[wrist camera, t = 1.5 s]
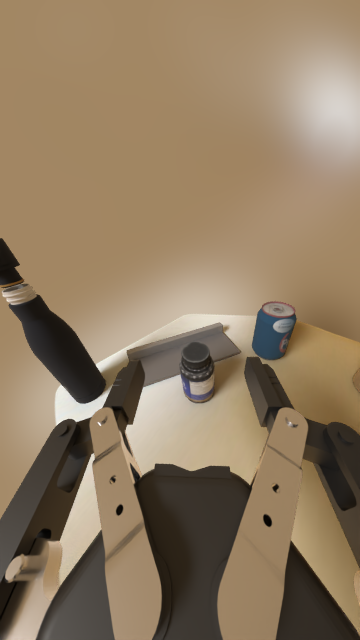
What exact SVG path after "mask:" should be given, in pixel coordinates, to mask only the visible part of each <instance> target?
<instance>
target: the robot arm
mask: <svg viewBox="0 0 360 640" xmlns="http://www.w3.org/2000/svg"><path fill="white" fill-rule="evenodd" d="M244 374H245V379H246V382H247V385H248V389H249V392H250V395H251V398H252V401H253V404H254V407H255V410H256V413H257V416H258V419H259V422H260V425H261V427H267V429H268V432H269V434H268V437H267V440H266V443H265V446H264V448H263V451H262V454H261V457H260V460H259V462H258V465H257V468H256V470H255V473H254V476H253V479H252V481H251V484H250V485H249V484H248V483H247V482H246V481H245V480H244V479H242V478H241V477H240V476H238V475H236V474H235V473H232V472H230V467H229V466H208V467H205V468H202V469H199V470H196V471H188V470H186V469H183V468H181V467H178V466H176V465H173V464H155V468H154V469H153V470H151V471H149V472H147V473H145V474H144V475H143V476H142V474H141V471H140V469H139V466H138V464H137V462H136V460H135V457H134V455H133V452H132V449H131V446H130V443H129V440H128V437H127V434H126V431H125V430H126V427H127V425H133V421H134V417H135V414H136V410H137V407H138V403H139V399H140V396H141V392H142V389H143V385H144V381H145V372H144V369H143V366H142V363H141V361H140V360H130V361H129V363H128V366H127V367H125V368H123V369H122V370H121V371H120V372H119V373H118V375H117V377H116V380H115V382H114V384H113V386H112V388H111V390H110V393H109V395H108V397H107V399H106V401H105V404H104V406H103V408H102V409H100V410H98V411H97V412H96V413H95V414H94V415H93V416H92V417H91V418H88V419H85V420H82V421H79V422H75V421H74V420H73V419H67V420H64V421H62V422H61V423H59V424H58V425H57V426H56V427H55V428H54V429H53V431H52V432H51V434H50V436H49V438H48V439H47V441H46V443H45V445H44V446H43V448H42V450H41V451H40V453H39V455H38V456H37V458H36V460H35V461H34V463H33V465H32V467H31V468H30V470H29V472H28V473H27V475H26V477H25V478H24V480H23V482H22V483H21V485H20V487H19V489H18V491H17V492H16V494H15V495H14V497H13V499H12V501H11V502H10V504H9V506H8V508H7V509H6V511H5V512H4V514H3V516H2V518H1V519H0V640H360V631H359V633H358V632H357V630H356V629H355V627H354V626H353V624H352V623H351V621H350V620H349V619H348V617H347V616H346V615H345V613H344V612H343V610H342V609H341V608H340V606H339V605H338V604H337V602H336V601H335V600H334V598H333V597H332V595H331V594H330V593H329V591H328V590H327V589H326V587H325V586H324V585H323V583H322V582H321V580H320V579H319V578H318V576H317V575H316V574H315V572H314V571H313V570H312V568H311V567H310V565H309V564H308V563H307V561H306V560H305V559H304V557H303V556H302V555H301V553H300V552H299V551H298V549H297V548H296V546H295V545H294V544H293V542H292V541H291V535H292V530H293V524H294V519H295V513H296V508H297V502H298V497H299V491H300V486H301V480H302V469H301V463H302V458H303V459H306V460H308V461H311V462H313V463H314V466H315V468H316V470H317V472H318V475H319V477H320V479H321V481H322V484H323V486H324V488H325V491H326V493H327V495H328V497H329V500H330V502H331V504H332V506H333V509H334V511H335V513H336V516H337V518H338V520H339V522H340V525H341V527H342V529H343V531H344V534H345V536H346V538H347V541H348V543H349V545H350V547H351V550H352V552H353V554H354V556H355V559H356V561H357V563H358V566H359V568H360V435H359V434H358V433H357V432H356V431H354V430H353V429H352V428H350V427H349V426H347V425H345V424H342V423H339V422H331V423H329V424H328V425H324V424H321V423H318V422H314V421H311V420H308V419H306V418H305V417H303V416H302V415H301V414H300V413H299V412H298V411H296V410H295V409H294V408H293V406H292V404H291V402H290V401H289V399H288V397H287V395H286V393H285V391H284V389H283V387H282V385H281V384H280V382H279V380H278V378H277V376H276V374H275V372H274V370H273V369H272V368H271V367H270V366H269V365H268V364H262V362H261V360H260V358H259V357H247V359H246V365H245V371H244ZM353 383H354V385H355V387H356V389H357V390H358V391H359V393H360V368H359V370H358V371H357V372H356V374H355V375H354V377H353ZM93 453H94V455H95V460H94V461H93V464H92V466H93V474H94V481H95V488H96V494H97V501H98V508H99V514H100V521H101V528H102V529H101V531H100V532H99V533H98V535H97V536H96V538H95V539H94V540H93V542H92V543H91V544H90V546H89V547H88V549H87V550H86V551H85V553H84V554H83V555H82V557H81V558H80V560H79V561H78V562H77V564H76V565H75V566H74V568H73V569H72V571H71V572H70V573H69V575H68V576H67V577H66V579H65V580H64V582H63V583H62V584H61V586H60V587H59V589H58V572H59V569H60V566H61V560H62V546H61V543H60V542H59V541H60V538H61V536H62V533H63V530H64V527H65V525H66V522H67V519H68V517H69V514H70V511H71V508H72V506H73V503H74V500H75V497H76V495H77V492H78V489H79V487H80V484H81V481H82V478H83V476H84V473H85V470H86V468H87V465H88V462H89V459H90V457H91V454H93ZM354 588H355V593H356V596H357V599H358V603H359V606H360V570H358V571H357V572H356V574H355V576H354Z"/></svg>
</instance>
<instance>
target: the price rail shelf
mask: <svg viewBox="0 0 360 640" xmlns="http://www.w3.org/2000/svg"><path fill="white" fill-rule="evenodd" d="M191 342H201V343H204V344H205V345H207V346H208V348H209V350H210V356H211V357H212V359H213V361H214V362H217V361H219V360H222V359H225V358H228V357H231V356H234V355H237V354H239V353H240V351H239V350H238V348H237V347H236V346H235V345H234V344H233V343H232V342H231V341H230V340H229V339H228V338H227V336H226V335H225V334H224V333H223V325H222V324H221V323H216V324H213V325H210V326H206V327H203V328H200V329H196V330H193V331H190V332H186V333H183V334H180V335H176V336H173V337H170V338H166V339H163V340H160V341H156V342H153V343H150V344H146V345H143V346H140V347H136V348H133V349H130V350H127V356H128V358H129V360H140V361H141V363H142V366H143V369H144V372H145V381H144V385H143V387H145V386H148V385H151V384H154V383H156V382H159V381H162V380H165V379H168V378H171V377H174V376H176V375H179V374H181V373H180V366H179V364H180V360H181V358H182V355H181V351H182V348H183V347H184V346H185V345H186V344H188V343H191Z"/></svg>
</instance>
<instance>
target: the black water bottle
mask: <svg viewBox="0 0 360 640" xmlns="http://www.w3.org/2000/svg"><path fill="white" fill-rule="evenodd" d="M19 265H20V264H19V263H18V261H17V259H16V258H15V257H14V255H13V253H12V252H11V251H10V249H9V247H8V246H7V245H6V243H5V242H4V240H3V239H2V238H0V287H1V288H7V287H10V288H7V289H5V290H3V291H2V293H3V297H6V298H7V302H10V304H9V307H10V309H11V310H12V311H13V312H14V314H15V315H16V316H17V317H18V318H19V320H20V321H21V322H22V326H23V329H24V333H25V336H26V339H27V341H28V343H29V346H30V348H31V349H32V351H33V353H34V354H35V355H36V356H37V358H38V359H39V360H40V361H41V362H42V363H43V364H44V365H45V367H46V368H47V369H48V370H49V371H50V372H51V373H52V374H53V376H54V377H55V378H56V379H57V380H58V381H59V382H60V383H61V385H62V386H63V387H64V388H65V389H66V390H67V391H68V392H69V393H70V395H71V396H72V397H73V398H74V399H75V400H76V401H77V402H79V403H88V402H91V401H93V400H95V399H96V398H97V397H99V395H100V394H101V393H102V392H103V390H104V388H105V385H106V383H105V379H104V378H103V376H102V375H101V373H100V371H99V370H98V368H97V367H96V365H95V363H94V362H93V360H92V359H91V357H90V355H89V354H88V352H87V351H86V349H85V347H84V346H83V344H82V343H81V341H80V339H79V338H78V336H77V335H76V333H75V332H74V331H73V330H72V328H71V327H70V326H69V325H67V323H66V322H65V321H64V320H62V319H61V318H60V317H58V316H57V315H56V314H54V313H53V312H52V311H50V310H49V308H48V307H47V305H46V304H45V302H44V301H43V299H42V298H41V296H40V295H37V294H35V293H36V292H35V291H33V290H32V287H31V286H30V285H29V284H21V283H23V282H24V279H23V278H22V277H21V276H20V275H19V273H18V272H17V270H16V269H15V267H16V266H19ZM18 284H20V285H18ZM12 286H13V287H12Z"/></svg>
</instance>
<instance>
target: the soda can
mask: <svg viewBox="0 0 360 640" xmlns="http://www.w3.org/2000/svg"><path fill="white" fill-rule="evenodd" d="M295 323H296V315H295V309H294V308H293V307H292V306H291V305H289V304H286V303H283V302H268V303H265V304H264V305H263V306H262V308H261V309H260V310H259V312H258V314H257V320H256V325H255V331H254V336H253V342H252V348H253V350H254V351H255V353H256V354H257V355H258V356H259V357H261V358H263V359H266V360H276V359H278V358H280V357H282V356H283V355H284V354H285V351H286V348H287V346H288V343H289V340H290V337H291V334H292V331H293V328H294V325H295Z"/></svg>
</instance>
